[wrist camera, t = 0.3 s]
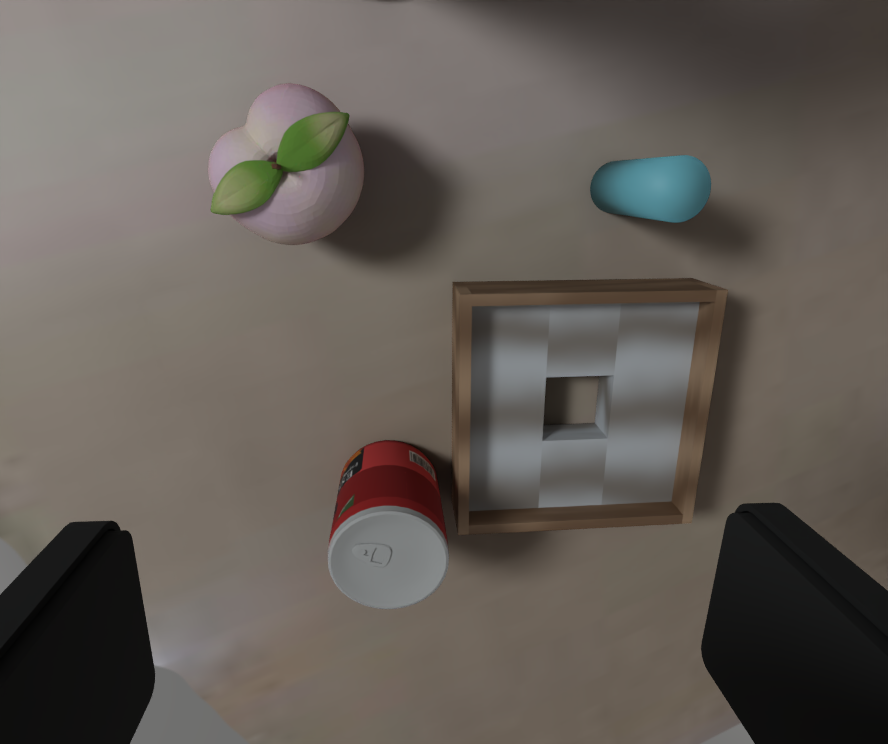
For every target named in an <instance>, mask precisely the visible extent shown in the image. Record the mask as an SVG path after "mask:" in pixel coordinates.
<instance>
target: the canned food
mask: <svg viewBox="0 0 888 744" xmlns="http://www.w3.org/2000/svg"><path fill="white" fill-rule="evenodd" d="M448 561H449V550H448V541H447V535H446V529H445V523H444V516H443V510H442V504H441V498H440V492H439V486H438V480H437V474H436V472H435V469H434V467H433V465H432V464H431V462H430V461H429V459H428V458H427V457H426V456H425V455H424V454H423V453H422V452H420V451H419V450H418V449H416V448H415V447H413V446H411V445H409V444H406V443H404V442H399V441H390V440H385V441H378V442H374V443H371V444H368V445H366V446H365V447H363V448H361V449H360V450H358V451H357V452H356V453H355V454H354V455H353V456H352V457H351V458H350V459H349V460H348V462H347V463H346V464H345V467H344V469H343V471H342V474H341V479H340V484H339V490H338V495H337V501H336V506H335V512H334V517H333V523H332V529H331V534H330V540H329V547H328V567H329V571H330V575H331V577H332V579H333V581H334V583H335V584H336V586H337V587H338V588H339V589H340V590H341V591H342V592H343V593H344V594H345V595H346V596H348V597H349V598H350V599H352V600H354V601H356V602H358V603H360V604H363V605H366V606H369V607H373V608H379V609H397V608H403V607H407V606H410V605H413V604H416V603H418V602H420V601H422V600H424V599H426V598H427V597H428V596H429V595H431V594H432V593H433V592H434V591H435V590H436V589H437V588H438V587H439V586H440V585H441V583H442V581H443V579H444V578H445V576H446V572H447V569H448Z"/></svg>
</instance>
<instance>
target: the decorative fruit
mask: <svg viewBox="0 0 888 744" xmlns="http://www.w3.org/2000/svg"><path fill="white" fill-rule="evenodd" d="M348 120H349V114H348V113H342V112H340V111H339V109H338V108H337V107H336V106H335V105H334V104H333V103H332V102H331V101H330V100H329V99H328V98H326V97H325V96H324V95H322V94H321V93H319V92H317V91H315V90H313V89H311V88H309V87H306V86H303V85H298V84H291V83H288V84H280V85H277V86H274V87H272V88H269V89H268V90H266V91H264V92H263V93H261V94H260V95H259V96H258V97H257V98H256V100H255V101H254V103H253V104H252V106H251V108H250V110H249V113H248V117H247V122H246V124H245V125H244V126H242V127H239V128H235V129H233V130H230V131H228V132H227V133H225V134H224V135H222V136H221V137H220V138H219V140H218V141H217V142H216V143H215V145H214V147H213V149H212V152H211V155H210V158H209V166H208V173H209V179H210V183H211V186H212V189H213V191H214V195H213V199H212V206H211V212H212V213H216V214H221V215H231V216H232V217H233V218H234V219H235V220H236V221H237V222H239V223H240V224H241V225H243V226H244V227H246V228H247V229H249V230H250V231H252V232H254V233H255V234H257V235H259V236H261V237H263V238H265V239H267V240H269V241H272V242H275V243H280V244H286V245H299V244H306V243H310V242H313V241H316V240H318V239H321V238H323V237H325V236H327V235H329V234H331V233H332V232H334V231H335V230H336V229H337V228H338V227H339V226H340V225H341V224H342V223H343V222H344V221H345V220H346V219H347V218H348V217H349V216H350V214H351V213H352V211H353V210H354V208H355V206H356V204H357V202H358V199H359V197H360V194H361V191H362V186H363V181H364V163H363V157H362V153H361V149H360V146H359V144H358V142H357V139H356V137H355V135H354V134H353V132H352V130H351V128H350V126H349V124H348Z"/></svg>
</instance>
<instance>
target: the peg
mask: <svg viewBox="0 0 888 744" xmlns="http://www.w3.org/2000/svg"><path fill="white" fill-rule="evenodd" d="M710 190H711V179H710V175H709V172H708V170H707V168H706V166H705V165H704V164H703V163H702V162H701V161H700V160H698V159H697V158H695V157H692V156H687V155H682V156H669V157H658V158H646V159H634V160H622V161H612V162H609V163H606V164H605V165H603V166H602V167H600V168H599V169H598V171H597V172H596V173H595V175H594V177H593V179H592V182H591V187H590V192H591V197H592V200H593V202H594V204H595V205H596V206H597V207H598V208H599V209H600V210H602V211H604V212H608V213H614V214H620V215H627V216H633V217H640V218H647V219H653V220H660V221H666V222H675V223H677V222H683V221H686V220H689V219H691V218H693V217H694V216H695V215H697V214H698V213H699V212H700V211H701V210H702V208H703V207H704V206H705V204H706V202H707V200H708V198H709V195H710Z"/></svg>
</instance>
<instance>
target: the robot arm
mask: <svg viewBox="0 0 888 744" xmlns="http://www.w3.org/2000/svg"><path fill="white" fill-rule="evenodd" d="M701 651H702V657H703V661H704V664H705V667H706V668H707V670H708V672H709V674H710V675H711V677H712V678H713V680H714V681H715V683H716V684H717V686H718V687H719V689H720V691H721V692H722V694H723V695H724V697H725V698H726V700H727V701H728V703H729V704H730V706H731V708H732V709H733V711H734V712H735V714H736V715H737V717H738V718H739V720H740V721H741V723H742V725H743V726H744V728H745V729H746V730H747V732H748V734H749V735H750V737H751V738H752V740H753V741H754V743H755V744H888V591H887V590H886V589H885V588H884V587H882V586H881V585H880V584H879V583H877V582H876V581H875V580H874V579H873V578H871V577H870V576H869V575H868V574H867V573H865V572H864V571H863V570H862V569H860V568H859V567H858V566H857V565H856V564H854V563H853V562H852V561H851V560H849V559H848V558H847V557H846V556H845V555H843V554H842V553H841V552H840V551H839V550H837V549H836V548H835V547H834V546H832V545H831V544H830V543H829V542H828V541H826V540H825V539H824V538H823V537H822V536H820V535H819V534H818V533H817V532H815V531H814V530H813V529H812V528H811V527H809V526H808V525H807V524H806V523H805V522H803V521H802V520H801V519H800V518H798V517H797V516H796V515H795V514H794V513H792V512H791V511H790V510H789V509H787V508H786V507H785V506H783V505H782V504H780V503H750V504H742V505H740V506H739V507H738V508H737V509H736V511H735V513H732V514H730V515H729V516H728V518H727V521H726V524H725V529H724V534H723V539H722V544H721V549H720V554H719V559H718V564H717V569H716V574H715V579H714V584H713V589H712V594H711V599H710V604H709V609H708V614H707V619H706V624H705V629H704V634H703V639H702V645H701ZM154 683H155V669H154V664H153V658H152V652H151V646H150V640H149V634H148V628H147V622H146V616H145V611H144V605H143V599H142V593H141V587H140V581H139V575H138V569H137V563H136V558H135V552H134V546H133V540H132V536H131V534H130V533H129V532H128V531H126V530H123V531H121V530H120V527H119V526H118V524H117V523H116V522H114V521H89V522H72V523H69V524H68V525H67V526H65V527H64V528H63V529H62V530H61V531H60V533H59V534H58V535H57V536H56V537H55V538H54V539H53V540H52V541H51V542H50V543H49V544H48V545H47V546H46V547H45V548H44V549H43V550H42V551H41V552H40V554H39V555H38V556H37V557H36V558H35V559H34V560H33V561H32V562H31V563H30V564H29V565H28V566H27V567H26V568H25V569H24V570H23V571H22V572H21V573H20V575H19V576H18V577H17V578H16V579H15V580H14V581H13V582H12V583H11V584H10V585H9V586H8V587H7V588H6V589H5V590H4V591H3V592H2V594H1V595H0V744H130V742H131V740H132V738H133V736H134V734H135V732H136V729H137V727H138V725H139V723H140V721H141V718H142V716H143V714H144V712H145V710H146V708H147V706H148V704H149V702H150V699H151V696H152V693H153V689H154Z"/></svg>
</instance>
